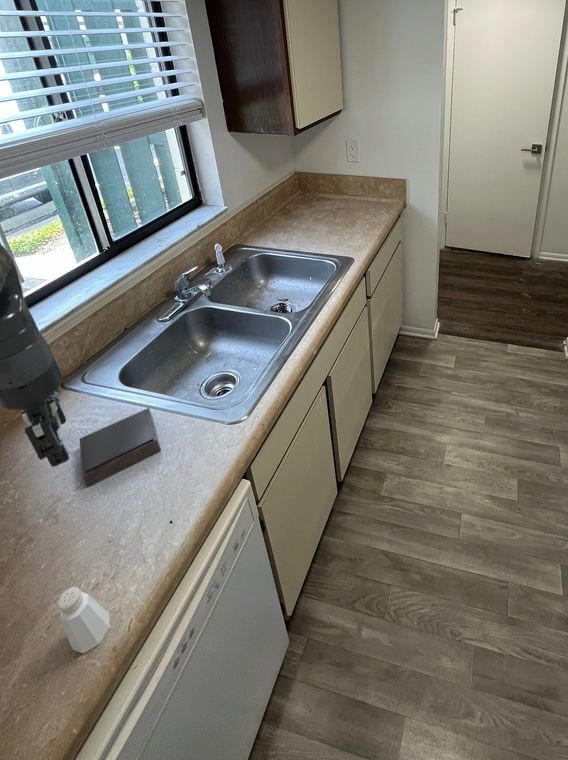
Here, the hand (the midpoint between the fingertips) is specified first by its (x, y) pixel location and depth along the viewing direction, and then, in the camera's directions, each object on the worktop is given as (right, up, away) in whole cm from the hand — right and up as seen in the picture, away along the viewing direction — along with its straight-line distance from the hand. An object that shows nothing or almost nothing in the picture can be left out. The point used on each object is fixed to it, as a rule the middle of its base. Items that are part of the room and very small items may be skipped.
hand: (59, 442), depth 70 cm
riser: (-9, -16, +29) cm, 34 cm away
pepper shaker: (+5, -31, 0) cm, 31 cm away
